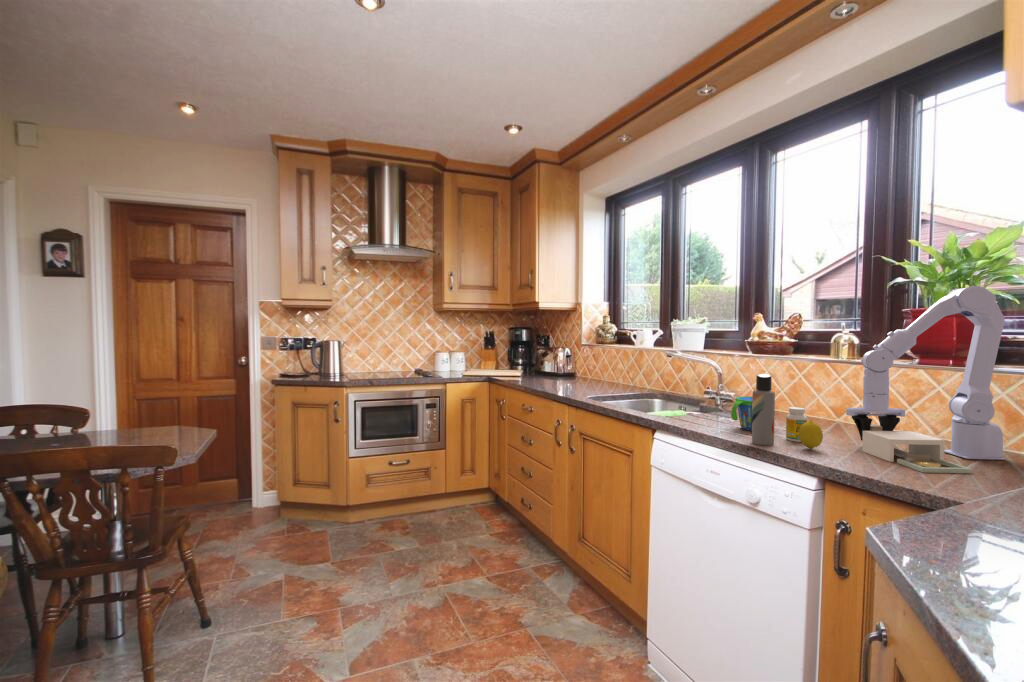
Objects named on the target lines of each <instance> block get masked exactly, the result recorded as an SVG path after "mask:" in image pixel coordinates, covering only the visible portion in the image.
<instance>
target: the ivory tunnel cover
mask: <svg viewBox="0 0 1024 682" xmlns="http://www.w3.org/2000/svg"><path fill="white" fill-rule="evenodd" d="M861 442H862V443H861V444H862V445H861V446H862V448H861V451H862V452H863V453H866V454H869V455H871V456H874V457H876V458H879V459H881V460H884V461H887V462H892V463H893V462H894V457H895V455H894V448H895V445H908V453H910V454H929V455H930V461H935V462H938V463H939V461H940V460H945V452H944V450H945V444H946V443H945V442H946V440H945V439H942V438H938V437H934V436H932V435H928V434H924V433H920V432H916V431H913V430H912V431H908V430H904V431H902V430H893V431H863V437H862V441H861Z"/></svg>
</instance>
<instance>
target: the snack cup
mask: <svg viewBox="0 0 1024 682" xmlns="http://www.w3.org/2000/svg"><path fill="white" fill-rule="evenodd" d="M752 397H753V396H737V397H736V398H735V402H734V404H733V405H732V407H731V412H730V416H731V419H732V420H733V421H738V419H739V426H740V427H741V429H743V430H745V431H746V430H747V431H751V432H752ZM737 410H738V411H737ZM737 412H738V413H737Z"/></svg>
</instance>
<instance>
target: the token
mask: <svg viewBox="0 0 1024 682" xmlns="http://www.w3.org/2000/svg"><path fill="white" fill-rule="evenodd" d="M913 464H916V465H919V466H922V467H942V464H940V463H939V462H937V461H934V460H931V459H930V460H921V459H916V460H914V463H913Z"/></svg>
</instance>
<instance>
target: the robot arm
mask: <svg viewBox="0 0 1024 682" xmlns="http://www.w3.org/2000/svg"><path fill="white" fill-rule="evenodd" d="M956 314H960V315H962V316H964V317H965V318H966V319H968V320H969V321H970V322H971V323H972V324H973V325H974V328H973V332H972V336H971V341H970V346H969V350H968V354H967V359H966V363H965V366H964V367H965V369H964V371H963V376H962V377H963V378H962V381H961V384H960V385H958V387H957V388H956V391H955V394H954V396H953V397H952V398H951V399H950V400H949V401H948V408H949V409H948V410H949V411H950V413H952V414H953V416H952V417H951V423H950V424H951V426H950V427H951V429H950V432H951V433H950V435H951V436H950V449H944V453H946V454H950V455H953V456H957V457H960V458H963V459H966V460H1001V461H1002V460H1004V461H1005V460H1006V457H1003V456H1004V455H1003V450H1004V448H1003V447H1004V434H1003V431H1002V429H1001V427H1000V426H999V425H998V424H996V423H994V422H990V421H991V420H992V419H993V418H994V416H995V411H996V410H995V407H994V405H993V400H994V396H993V393H992V391H991V388H990V386H991V382H992V377H993V374H994V369H995V365H996V360H997V357H998V352H999V347H1000V343H1001V339H1002V334H1003V330H1004V326H1005V316H1004V314H1003V312H1002V311H1001V309H1000V305H998V303H997V296H996V295H995V294H994V293H993V292H991V291H990V290H988V288H986V287H984V286H980V285H971V286H967V287H964V288H963V287H962V288H960V287H959V288H956V289H953V290H951V291H950V292H949V293H948V294H947V295H945V296H943V297H941V298H939V299H938V300H937V301H935V302H934V303H933V304H932V305H931V306H929V307H928V308H927V309H926V310H925V311H924V312H923V313H922V314H920V315H919V317H918V318H916V319H915V320H914V321H913V322H912V323H911V324H909V325H908V326H907V327H906V328H904V329H896V330H894V331H889V332H888V333H887V334H886V335H887V337H886V338H885V339H883V340H882V341H881V342H880V343H879V344H874V345H873V346H872V348H873V349H874V350H873V349H872V350H869V351H867V352H865V353H864V354H863V355H862V359H860V362H861V365H862V366H863V370H864V371H863V381H862V382H863V384H862V407H860V406H859V407H846V410H845V411H846V413H845V414H846V415H847V416H850V417H851V419H852V421H853V422H854V424H855V425H856V427H857V430H858V433H859V437H860V440H861V442H862V437H863V431H869V430H870V425H871V424H872V422H873V419H872V418H869V417H870V416H871V417H878V422H879V426H882V431H895V429H896V427H897V426H898V424H899V423H900V421H901V418H902V417H906V409H903V408H893V407H892V408H891V407H890V406H889V405H890V400H889V399H890V376H889V375H890V369H891V368H892V367H893V365H894V361H896V360H898V359H899V358H900V357H902V356H903V355H904V354H905V353H907V352H908V351H909V350H911V349H912V348H913V347H914V346H916V345H917V337H919V336H920V335H921V334H923V333H925V331H927V330H928V329H930V328H931V327H932V326H934V325H935V324H936V323H938V322H939V321H941V320H942V319H943V318H944V317H947V316H952V315H956ZM900 417H901V418H900Z"/></svg>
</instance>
